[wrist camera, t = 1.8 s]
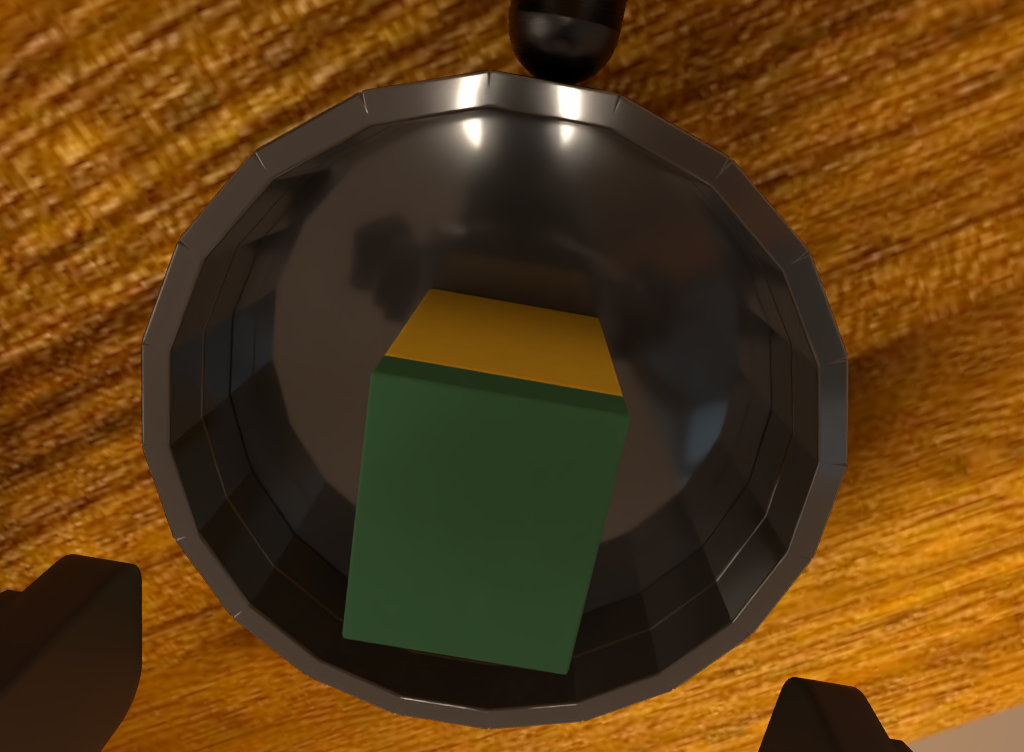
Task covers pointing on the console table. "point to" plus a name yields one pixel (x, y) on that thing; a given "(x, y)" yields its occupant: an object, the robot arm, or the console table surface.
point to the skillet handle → (565, 36)
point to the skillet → (517, 279)
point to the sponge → (484, 482)
